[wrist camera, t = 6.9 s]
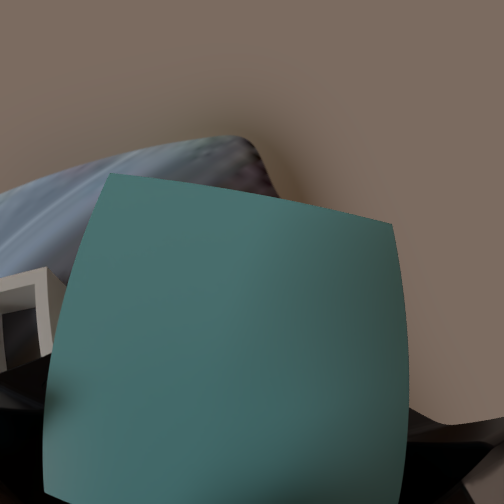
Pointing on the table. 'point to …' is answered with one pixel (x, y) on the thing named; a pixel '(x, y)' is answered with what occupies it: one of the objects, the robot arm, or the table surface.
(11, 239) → the table surface
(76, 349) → the plug
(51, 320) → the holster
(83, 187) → the table surface
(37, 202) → the table surface
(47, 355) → the robot arm
